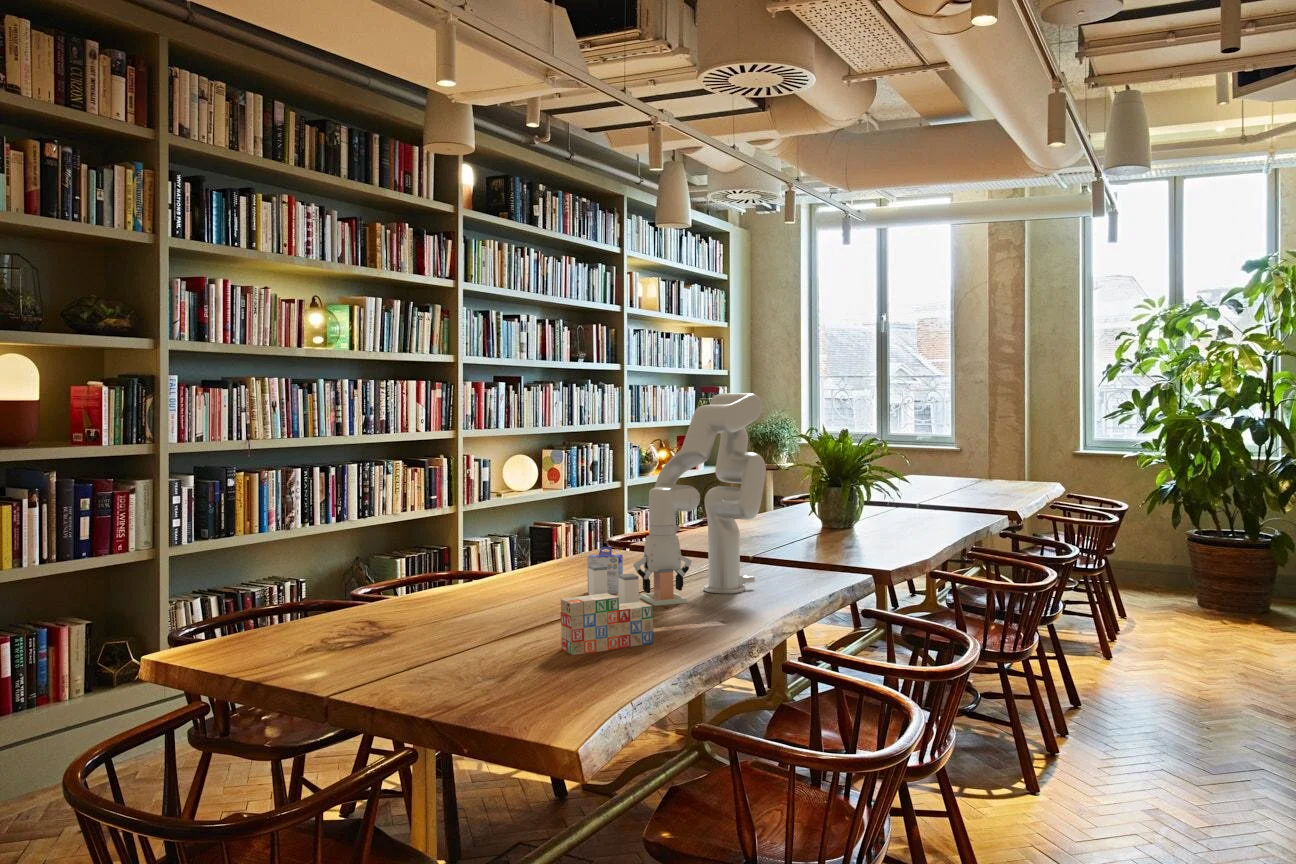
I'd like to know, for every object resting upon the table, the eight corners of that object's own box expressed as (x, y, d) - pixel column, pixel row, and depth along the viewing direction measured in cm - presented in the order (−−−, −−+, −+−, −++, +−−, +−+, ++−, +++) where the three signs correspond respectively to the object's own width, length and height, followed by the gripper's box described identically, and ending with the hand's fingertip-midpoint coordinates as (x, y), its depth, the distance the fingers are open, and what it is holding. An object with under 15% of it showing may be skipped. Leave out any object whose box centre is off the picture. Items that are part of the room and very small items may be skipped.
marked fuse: (666, 600, 290) (666, 566, 290) (673, 603, 285) (673, 569, 285) (653, 601, 289) (653, 567, 288) (660, 604, 284) (660, 570, 284)
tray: (671, 599, 294) (671, 591, 294) (686, 607, 283) (686, 598, 283) (640, 602, 291) (640, 593, 291) (654, 610, 280) (654, 601, 280)
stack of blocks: (641, 638, 247) (641, 588, 247) (653, 644, 242) (653, 593, 241) (560, 649, 237) (560, 597, 237) (571, 655, 232) (570, 602, 231)
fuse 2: (632, 609, 277) (632, 573, 276) (638, 612, 272) (638, 576, 272) (618, 610, 275) (618, 574, 275) (624, 613, 271) (624, 577, 270)
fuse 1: (602, 598, 293) (601, 564, 292) (607, 601, 288) (607, 566, 288) (588, 599, 291) (588, 565, 291) (594, 602, 286) (593, 567, 286)
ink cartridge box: (623, 594, 303) (623, 546, 302) (619, 598, 297) (619, 549, 297) (591, 593, 305) (591, 545, 304) (587, 597, 299) (586, 548, 299)
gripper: (685, 527, 293) (686, 586, 293) (629, 531, 287) (630, 591, 287) (695, 531, 286) (696, 591, 286) (638, 534, 280) (638, 595, 280)
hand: (663, 591), depth 287 cm, fingers open, 9 cm apart
